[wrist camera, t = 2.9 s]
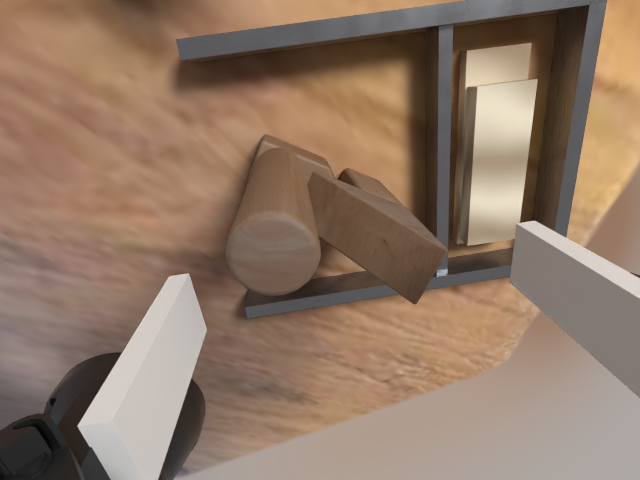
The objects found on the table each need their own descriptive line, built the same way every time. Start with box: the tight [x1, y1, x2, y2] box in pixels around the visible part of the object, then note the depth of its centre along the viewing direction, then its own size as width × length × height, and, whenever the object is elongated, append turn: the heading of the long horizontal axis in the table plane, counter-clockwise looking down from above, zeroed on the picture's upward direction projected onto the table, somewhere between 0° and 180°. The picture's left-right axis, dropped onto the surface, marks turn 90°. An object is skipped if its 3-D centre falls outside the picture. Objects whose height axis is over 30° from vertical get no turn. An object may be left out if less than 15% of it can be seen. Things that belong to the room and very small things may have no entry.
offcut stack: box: [452, 43, 538, 246], centre depth 30 cm, size 16×5×3 cm, turn 6°
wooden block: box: [225, 135, 448, 304], centre depth 22 cm, size 4×11×18 cm, turn 67°
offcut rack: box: [176, 0, 607, 318], centre depth 29 cm, size 22×29×3 cm
